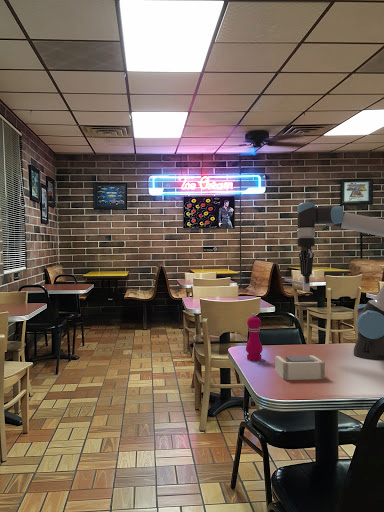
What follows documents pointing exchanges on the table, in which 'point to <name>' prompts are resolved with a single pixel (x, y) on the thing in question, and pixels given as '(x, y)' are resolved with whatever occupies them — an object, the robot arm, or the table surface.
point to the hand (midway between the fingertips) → (306, 290)
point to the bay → (300, 369)
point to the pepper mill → (254, 339)
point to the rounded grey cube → (298, 359)
